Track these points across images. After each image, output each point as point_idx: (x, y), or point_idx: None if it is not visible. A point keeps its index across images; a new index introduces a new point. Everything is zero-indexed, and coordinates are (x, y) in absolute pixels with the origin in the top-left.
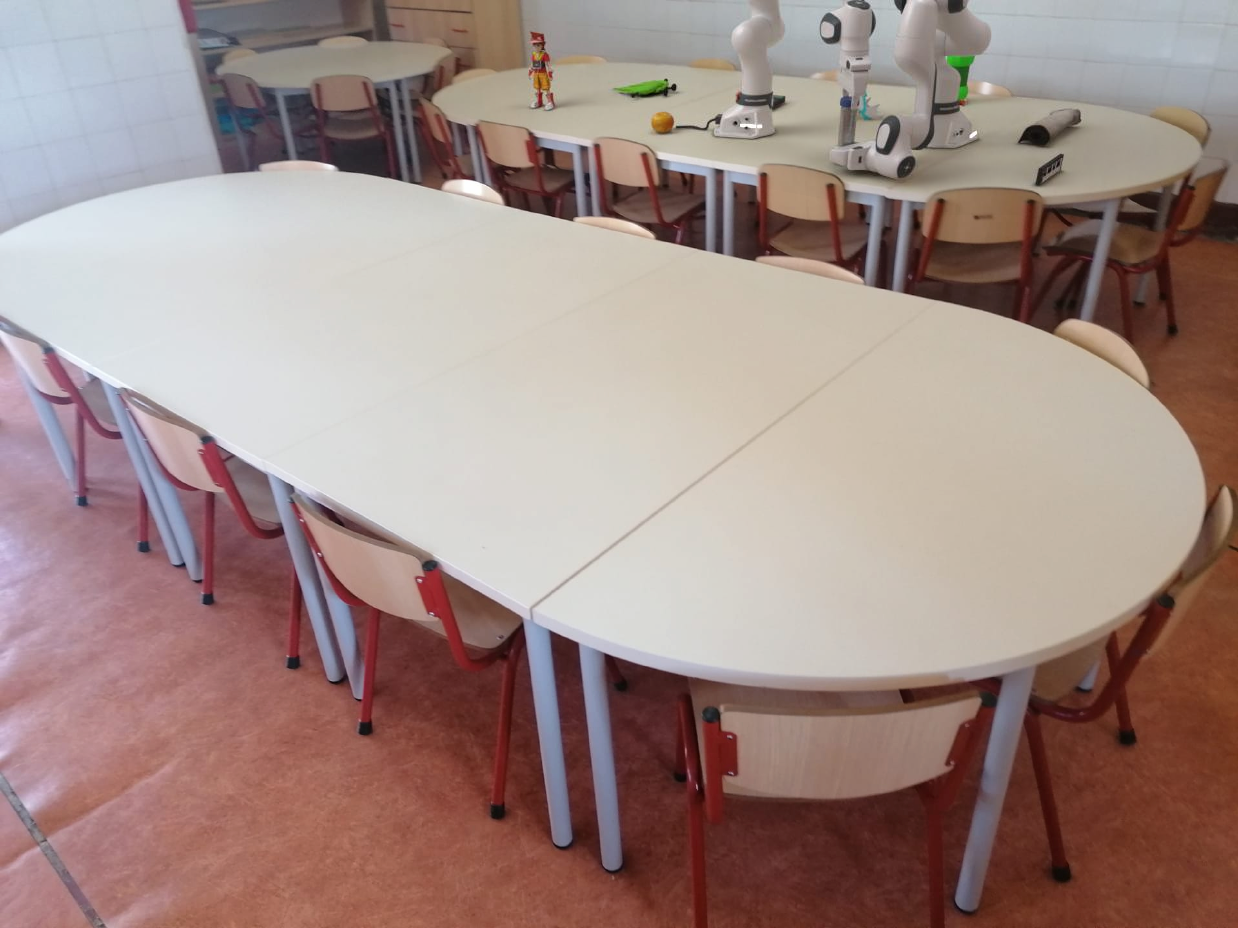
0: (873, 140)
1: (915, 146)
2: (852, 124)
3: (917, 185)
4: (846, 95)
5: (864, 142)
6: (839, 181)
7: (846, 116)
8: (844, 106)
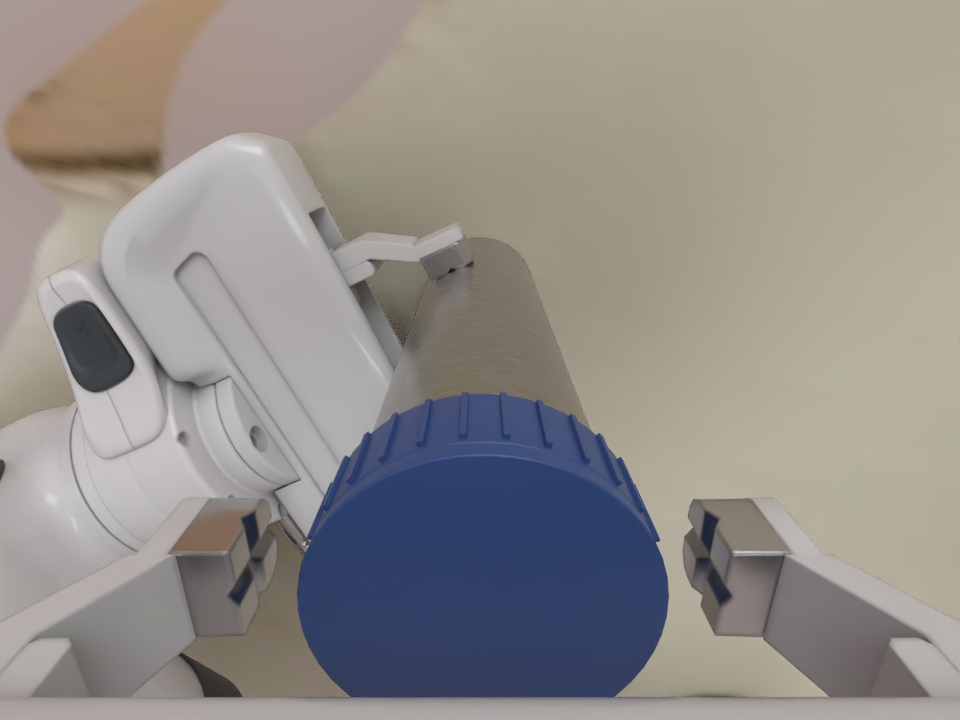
0: None
1: None
2: None
3: None
4: (788, 617)
5: None
6: (87, 157)
7: (383, 404)
8: (363, 438)
